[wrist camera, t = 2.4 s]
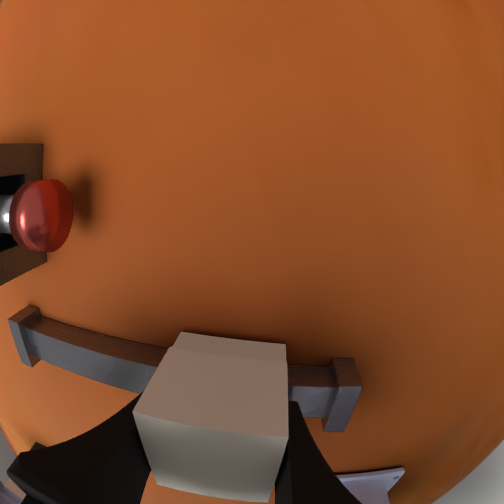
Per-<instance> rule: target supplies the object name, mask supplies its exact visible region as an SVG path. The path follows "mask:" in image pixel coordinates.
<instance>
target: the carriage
mask: <svg viewBox="0 0 504 504" xmlns="http://www.w3.org/2000/svg"><path fill="white" fill-rule="evenodd" d="M132 412H133V415H134V419H135V422H136V426H137V429H138V432H139V435H140V438H141V442H142V445H143V448H144V450H145V453H146V456H147V459H148V462H149V465H150V467H151V470H152V473H153V475H154V478H155V480H156V483H157V485H161V486H165V487H169V488H173V489H177V490H181V491H186V492H190V493H195V494H200V495H206V496H212V497H218V498H225V499H232V500H241V501H251V502H264V503H268V501H269V498H270V495H271V492H272V489H273V486H274V483H275V480H276V477H277V474H278V471H279V468H280V465H281V461H282V458H283V455H284V451H285V448H286V444H287V441H288V437H289V431H288V375H287V361H286V344H278V343H267V342H257V341H247V340H238V339H230V338H222V337H214V336H207V335H200V334H193V333H187V332H181V333H180V334H179V336H178V338H177V340H176V341H175V343H174V345H173V346H172V347H169V349H168V350H167V352H166V354H165V356H164V357H163V359H162V361H161V362H160V364H159V366H158V368H157V369H156V371H155V373H154V375H153V376H152V378H151V380H150V381H149V383H148V385H147V387H146V388H145V390H144V392H143V394H142V395H141V397H140V399H139V401H138V402H137V404H136V406H135V408H134V410H133V411H132Z"/></svg>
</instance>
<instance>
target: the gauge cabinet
mask: <svg viewBox="0 0 504 504" xmlns="http://www.w3.org/2000/svg"><path fill="white" fill-rule="evenodd" d="M42 151H43V144H0V195H15V193H16V192H17V190H18V189H19V188H20V187H21V186H22V185H23V184H25V183H26V182H29V181H37V180H42ZM46 262H47V261H46V252H42V251H36V250H29V249H25V248H23V247H21V246H20V245H18V244H17V242H16V241H15V240H14V238H13V236H12V234H7V233H0V286H1V285H3V284H5V283H6V282H8V281H10V280H12V279H14V278H16V277H18V276H20V275H22V274H24V273H26V272H28V271H30V270H32V269H34V268H36V267H38V266H40V265H42V264H44V263H46Z"/></svg>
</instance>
